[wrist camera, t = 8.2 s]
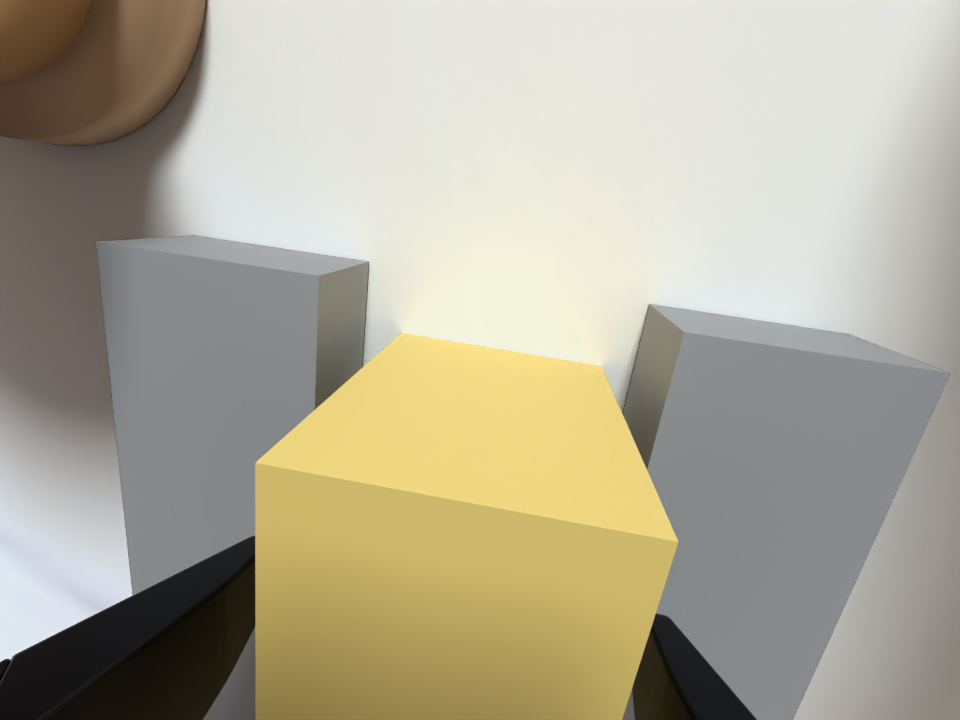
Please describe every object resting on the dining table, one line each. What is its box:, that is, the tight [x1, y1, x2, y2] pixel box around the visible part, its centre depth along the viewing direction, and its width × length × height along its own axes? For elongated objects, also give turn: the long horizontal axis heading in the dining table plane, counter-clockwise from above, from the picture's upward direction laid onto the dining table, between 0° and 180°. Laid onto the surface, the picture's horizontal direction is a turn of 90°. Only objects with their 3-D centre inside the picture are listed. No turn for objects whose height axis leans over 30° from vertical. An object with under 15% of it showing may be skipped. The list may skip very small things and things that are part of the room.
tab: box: [255, 333, 678, 720], centre depth 9 cm, size 7×4×6 cm, turn 172°
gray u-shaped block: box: [96, 235, 950, 720], centre depth 11 cm, size 14×12×2 cm
